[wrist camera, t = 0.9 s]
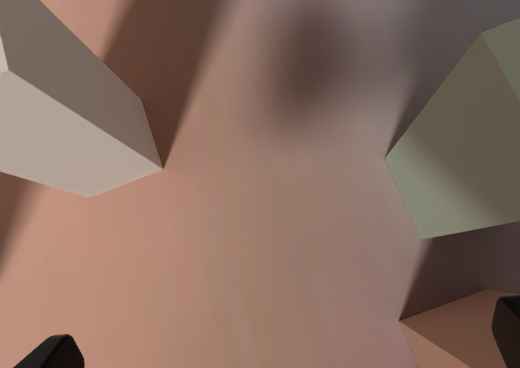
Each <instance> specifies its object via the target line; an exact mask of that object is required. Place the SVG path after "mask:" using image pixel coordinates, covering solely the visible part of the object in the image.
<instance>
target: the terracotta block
mask: <svg viewBox="0 0 520 368" xmlns="http://www.w3.org/2000/svg"><path fill="white" fill-rule="evenodd" d="M512 295H520V294H516V293H509V292H503V291H496V290H490V289H486V290H483V291H480V292H478V293H475V294H472V295H469V296H467V297H464V298H461V299H458V300H456V301H453V302H450V303H447V304H444V305H442V306H439V307H436V308H433V309H431V310H428V311H425V312H422V313H420V314H417V315H414V316H411V317H409V318H406V319H403V320H400V321H399V323H400V325H401V328H402V330H403V332H404V335H405V337H406V340H407V342H408V344H409V347H410V349H411V351H412V354H413V356H414V358H415V361H416V363H417V366H418V368H507V367H506V365H505V362H504V360H503V358H502V355H501V353H500V351H499V348H498V346H497V344H496V341H495V339H494V336H493V333H492V320H493V315H494V310H495V305H496V301H497V299H498V298H499V297H501V296H512Z"/></svg>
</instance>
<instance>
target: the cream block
mask: <svg viewBox="0 0 520 368" xmlns="http://www.w3.org/2000/svg"><path fill="white" fill-rule="evenodd" d="M160 170H163V167H162V164H161V161H160V157H159V154H158V151H157V148H156V145H155V142H154V138H153V135H152V132H151V129H150V126H149V122H148V119H147V116H146V113H145V110H144V107H143V103H142V100H141V99H140V98H139V97H138V96H137V95H136V94H135V93H134V92H133V91H132V90H131V89H130V88H129V87H128V86H127V85H126V84H125V83H124V82H122V81H121V80H120V79H119V78H118V77H117V76H116V75H115V74H114V73H113V72H112V71H111V70H110V69H109V68H108V67H107V66H106V65H105V64H104V63H103V62H102V61H101V60H100V59H99V58H98V57H97V56H96V55H95V54H94V53H93V52H92V51H91V50H90V49H89V48H88V47H87V46H86V45H85V44H84V43H83V42H82V41H81V40H80V39H79V38H78V37H77V36H75V35H74V34H73V33H72V32H71V31H70V30H69V29H68V28H67V27H66V26H65V25H64V24H63V23H62V22H61V21H60V20H59V19H58V18H57V17H56V16H55V15H54V14H53V13H52V12H51V11H50V10H49V9H48V8H47V7H46V6H45V5H44V4H43V3H42V2H41V1H40V0H0V172H3V173H7V174H10V175H14V176H17V177H21V178H24V179H27V180H31V181H34V182H38V183H41V184H44V185H48V186H51V187H55V188H58V189H61V190H65V191H68V192H72V193H75V194H79V195H82V196H85V197H89V198H91V197H93V196H96V195H99V194H101V193H104V192H106V191H109V190H111V189H114V188H117V187H119V186H122V185H124V184H127V183H130V182H132V181H135V180H137V179H140V178H142V177H145V176H148V175H150V174H153V173H155V172H158V171H160Z"/></svg>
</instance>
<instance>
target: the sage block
mask: <svg viewBox="0 0 520 368" xmlns="http://www.w3.org/2000/svg"><path fill="white" fill-rule="evenodd" d="M384 160H385V162H386V164H387V166H388V168H389V171H390V173H391V175H392V177H393V179H394V181H395V184H396V186H397V188H398V190H399V192H400V195H401V197H402V199H403V201H404V203H405V206H406V208H407V210H408V212H409V214H410V217H411V219H412V221H413V223H414V225H415V228H416V230H417V232H418V234H419V236H420V238H421V240H422V239H428V238H433V237H438V236H444V235H449V234H454V233H460V232H465V231H470V230H476V229H481V228H486V227H492V226H497V225H502V224H508V223H513V222H518V221H520V18H517V19H515V20H512V21H510V22H507V23H504V24H502V25H499V26H497V27H494V28H492V29H489V30H487V31H484V32H481V33H480V35H479V36H478V37H477V38H476V40H475V41H474V42H473V44H472V45H471V46H470V48H469V49H468V50H467V52H466V53H465V54H464V56H463V57H462V58H461V59H460V61H459V62H458V63H457V65H456V66H455V67H454V69H453V70H452V71H451V73H450V74H449V75H448V76H447V78H446V79H445V80H444V82H443V83H442V84H441V86H440V87H439V88H438V90H437V91H436V92H435V93H434V95H433V96H432V97H431V99H430V100H429V101H428V103H427V104H426V105H425V107H424V108H423V109H422V110H421V112H420V113H419V114H418V116H417V117H416V118H415V120H414V121H413V122H412V124H411V125H410V126H409V128H408V129H407V130H406V131H405V133H404V134H403V135H402V137H401V138H400V139H399V141H398V142H397V143H396V145H395V146H394V147H393V148H392V150H391V151H390V152H389V154H388V155H387V156H386V158H385V159H384Z"/></svg>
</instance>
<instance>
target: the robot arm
mask: <svg viewBox="0 0 520 368" xmlns="http://www.w3.org/2000/svg"><path fill="white" fill-rule="evenodd" d="M492 333H493V336H494V339H495V341H496V344H497V346H498V348H499V351H500V353H501V355H502V358H503V360H504V362H505V365H506V367H507V368H520V295H512V296H501V297H499V298H498V299H497V301H496V305H495V310H494V315H493V320H492ZM84 365H85V364H84V358H83V355H82V354H81V352H80V350H79V348H78V346H77V344H76V342H75V341H74V339H73V337H72V336H70V335H69V334H64V335H53V336H50V337H49V338H47V339H46V340H45V341H44V342H42V343H41V344H40V345H39V346H38V347H37V348H35V349H34V350H33V351H32V352H31V353H30V354H28V355H27V356H26V357H25V358H24V359H23V360H22V361H20V362H19V363H18V364H17V365H16V366H15V367H13V368H84Z"/></svg>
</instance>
